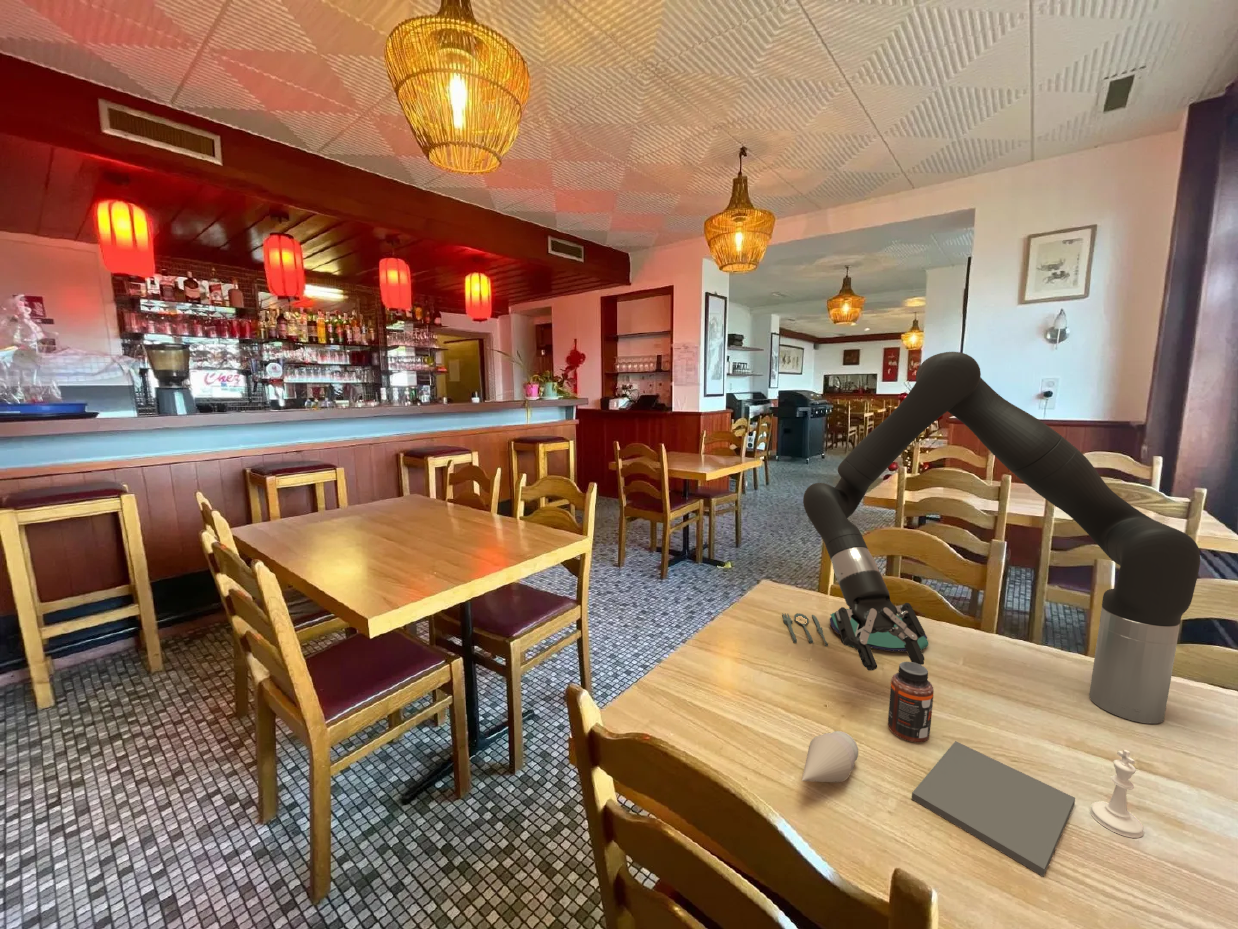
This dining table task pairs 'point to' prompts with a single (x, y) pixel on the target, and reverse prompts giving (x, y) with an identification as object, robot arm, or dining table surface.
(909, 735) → the supplement bottle
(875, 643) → the cutlery set
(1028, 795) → the mat
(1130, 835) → the chess piece
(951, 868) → the dining table surface
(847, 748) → the ice cream cone
